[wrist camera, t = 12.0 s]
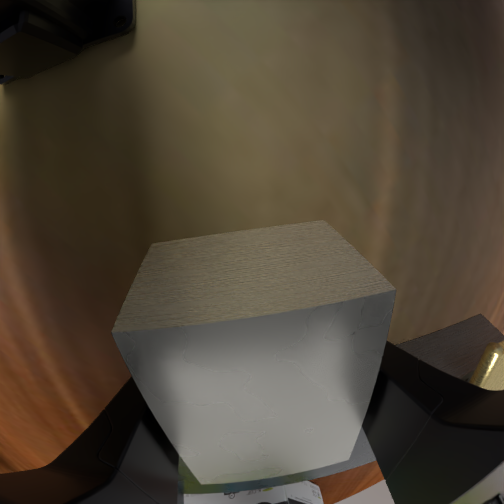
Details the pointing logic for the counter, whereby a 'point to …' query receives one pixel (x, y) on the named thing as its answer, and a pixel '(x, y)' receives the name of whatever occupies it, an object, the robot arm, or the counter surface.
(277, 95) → the counter surface
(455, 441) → the robot arm
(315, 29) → the counter surface
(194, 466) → the white rectangular block
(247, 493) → the tea box
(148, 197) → the counter surface
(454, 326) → the plane body
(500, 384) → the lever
